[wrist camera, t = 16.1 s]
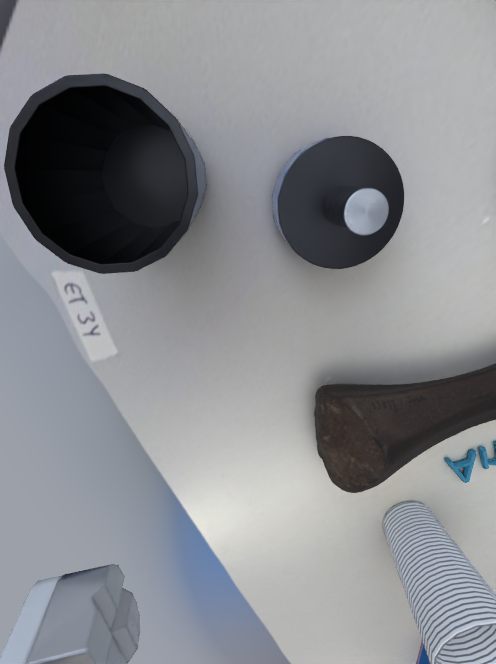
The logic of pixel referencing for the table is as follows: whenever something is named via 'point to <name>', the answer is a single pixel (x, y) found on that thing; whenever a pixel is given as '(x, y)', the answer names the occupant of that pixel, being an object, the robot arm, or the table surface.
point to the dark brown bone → (395, 423)
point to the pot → (103, 173)
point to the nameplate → (470, 463)
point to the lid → (340, 202)
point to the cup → (441, 588)
